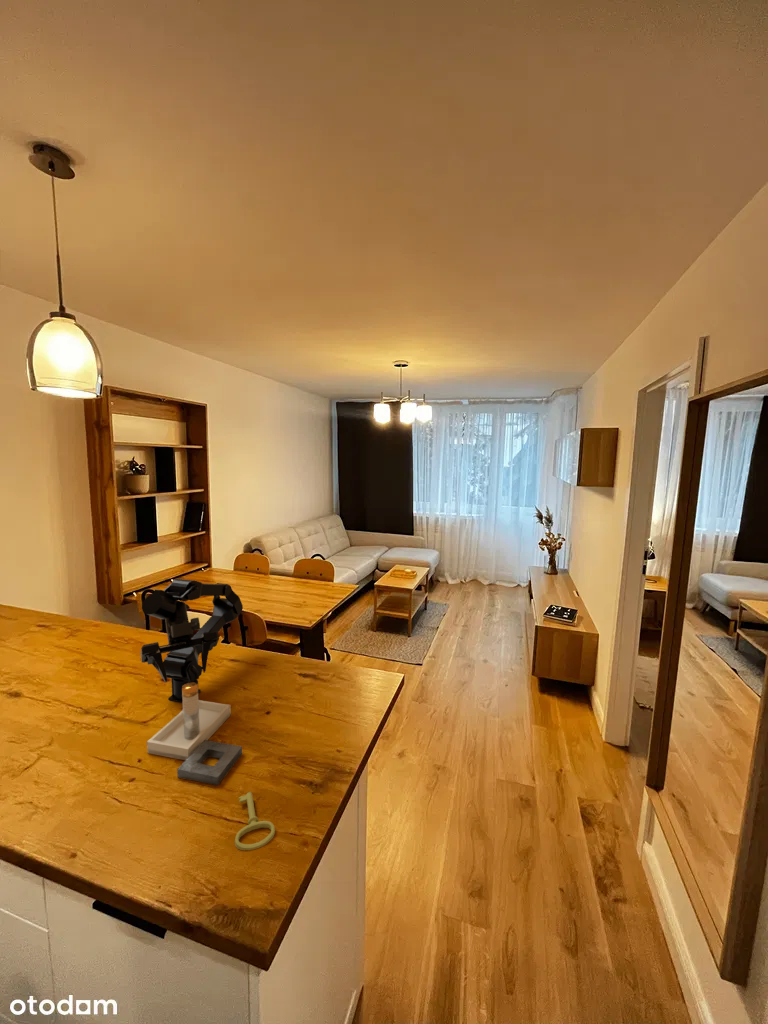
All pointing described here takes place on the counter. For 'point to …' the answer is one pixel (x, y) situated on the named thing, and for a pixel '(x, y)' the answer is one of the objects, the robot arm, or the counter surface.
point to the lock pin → (190, 710)
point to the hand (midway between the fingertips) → (185, 676)
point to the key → (253, 826)
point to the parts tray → (172, 733)
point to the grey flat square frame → (207, 773)
